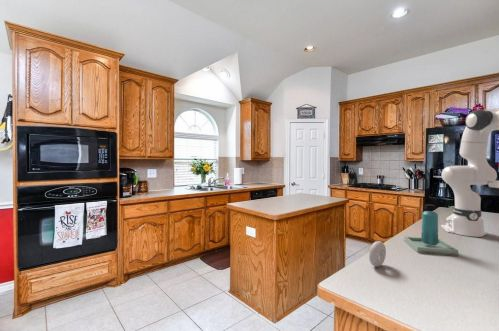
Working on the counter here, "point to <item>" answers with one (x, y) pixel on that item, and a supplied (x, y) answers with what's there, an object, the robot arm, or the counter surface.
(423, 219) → the beverage bottle
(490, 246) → the counter surface
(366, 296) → the counter surface
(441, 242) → the tray
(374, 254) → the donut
